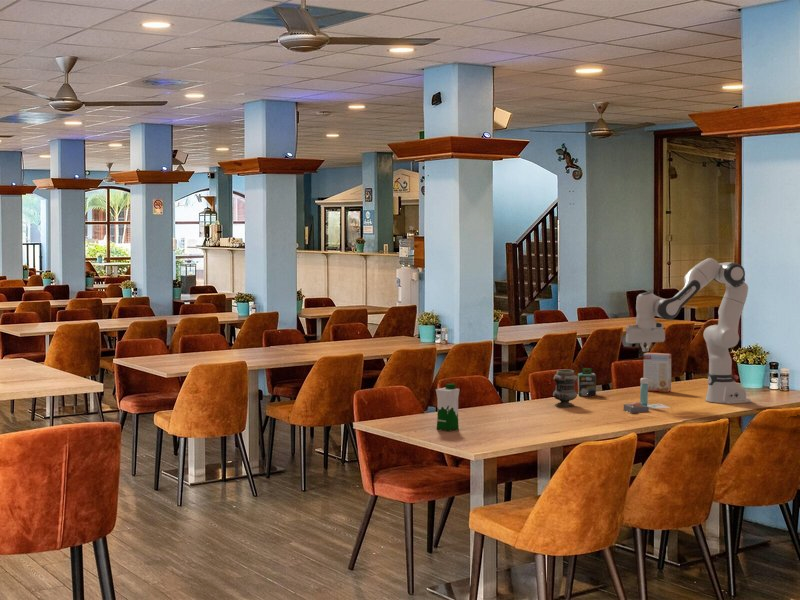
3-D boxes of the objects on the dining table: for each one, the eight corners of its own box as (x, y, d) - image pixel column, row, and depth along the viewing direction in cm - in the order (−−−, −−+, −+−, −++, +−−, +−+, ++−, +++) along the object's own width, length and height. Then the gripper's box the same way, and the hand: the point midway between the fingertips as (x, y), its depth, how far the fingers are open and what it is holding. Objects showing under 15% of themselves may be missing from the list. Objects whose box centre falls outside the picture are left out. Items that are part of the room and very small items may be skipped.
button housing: (640, 409, 497) (640, 403, 497) (648, 412, 488) (648, 406, 488) (623, 410, 496) (623, 404, 495) (631, 413, 487) (631, 407, 487)
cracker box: (671, 391, 556) (671, 353, 554) (668, 392, 551) (668, 354, 549) (646, 389, 563) (646, 352, 562) (642, 390, 558) (643, 353, 557)
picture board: (661, 404, 512) (661, 403, 512) (673, 409, 499) (673, 407, 499) (627, 405, 509) (627, 404, 509) (639, 410, 496) (639, 409, 495)
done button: (638, 410, 495) (638, 401, 494) (642, 411, 490) (642, 403, 490) (629, 410, 494) (630, 402, 494) (633, 411, 489) (633, 403, 489)
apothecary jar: (563, 408, 501) (564, 372, 500) (547, 405, 511) (548, 369, 510) (582, 406, 508) (582, 370, 507) (565, 403, 518) (566, 368, 517)
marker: (645, 405, 505) (646, 377, 505) (649, 406, 502) (649, 378, 501) (638, 405, 505) (639, 378, 504) (642, 407, 501) (642, 379, 500)
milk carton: (461, 429, 449) (461, 384, 448) (448, 432, 442) (448, 386, 441) (446, 426, 455) (446, 382, 453) (433, 429, 448) (433, 384, 447)
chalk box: (594, 394, 547) (594, 366, 546) (596, 396, 538) (596, 369, 537) (577, 393, 548) (577, 366, 547) (578, 396, 539) (578, 368, 538)
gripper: (628, 325, 509) (628, 353, 510) (666, 323, 513) (666, 351, 514) (623, 324, 515) (623, 351, 516) (660, 322, 519) (661, 349, 520)
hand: (645, 351), depth 515 cm, fingers closed
